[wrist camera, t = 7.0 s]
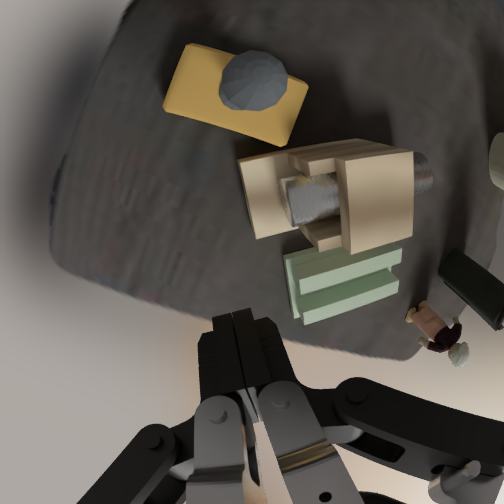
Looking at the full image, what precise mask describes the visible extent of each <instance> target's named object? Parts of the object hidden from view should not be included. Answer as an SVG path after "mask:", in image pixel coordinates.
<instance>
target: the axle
mask: <svg viewBox="0 0 504 504" xmlns="http://www.w3.org/2000/svg"><path fill="white" fill-rule="evenodd" d="M413 165H414V195H415V194H419V193H423V192H426V191H428V190H429V189H430V188H431V186H432V182H433V173H432V168H431V165H430V163H429V161H428V160H427V158H426V157H425V156H424V155H423V154H421V153H419V152H413ZM279 193H280V199H281V203H282V206H283V210H284V213H285V215H286V218H287V220H288V222H289V224H290V225H291V226H292V227H296V226H300V225H304V224H307V223H311V222H315V221H318V220H322V219H325V218H329V217H333V216H336V215H340V202H339V191H338V180H337V171H335V172H330V173H325V174H320V175H315V176H309V175H307V174H305V173H303V174H299V175H295V176H291V177H286V178H282V179H280V180H279Z"/></svg>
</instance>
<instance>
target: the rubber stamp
mask: <svg viewBox="0 0 504 504" xmlns="http://www.w3.org/2000/svg"><path fill="white" fill-rule="evenodd" d="M308 88H309V87H308V85H307V84H306V82H304V81H302V80H300V79H297V78H295V77H293V76H290V75H288V74H287V72H286V70H285V68H284V66H283V64H282V62H281V61H280V60H278V59H277V58H275V57H274V56H272V55H271V54H269V53H268V52H262V51H254V50H250V51H247V52H244V53H242V54H239V55H234V54H231V53H227V52H224V51H221V50H217V49H214V48H210V47H207V46H203V45H199V44H195V43H191V44H188V45H186V46H185V49H184V51H183V53H182V56H181V58H180V61H179V63H178V66H177V68H176V71H175V73H174V76H173V78H172V81H171V84H170V86H169V89H168V92H167V95H166V97H165V100H164V103H163V108H164V110H165V111H166V112H169V113H173V114H177V115H181V116H185V117H189V118H192V119H196V120H200V121H203V122H207V123H210V124H214V125H217V126H220V127H223V128H227V129H230V130H233V131H236V132H239V133H242V134H245V135H248V136H251V137H254V138H257V139H260V140H263V141H265V142H268V143H271V144H274V145H277V146H279V147H281V146H284V145H287V142H288V139H289V137H290V134H291V132H292V129H293V126H294V124H295V121H296V119H297V116H298V113H299V111H300V108H301V106H302V103H303V100H304V98H305V95H306V93H307V90H308Z"/></svg>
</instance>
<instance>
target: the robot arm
mask: <svg viewBox="0 0 504 504" xmlns="http://www.w3.org/2000/svg"><path fill="white" fill-rule="evenodd" d="M232 315H233V317H232ZM212 322H213V331H210V332H207V333H202V335H201V338H200V340H199V342H198V363H199V381H200V394H201V395H200V396H201V402H200V405H199V406H198V408H197V409H196V412H195V414H194V416H192V417H191V418H190V419H189V420H187V421H185V422H183V423H181V424H179V425H177V426H175V427H172V428H168V427H166V426H165V425H162V424H151V425H148V426H146V427H144V428H143V429H141V430H140V431H139V432H138V433H137V435H136V436H135V437H134V438H133V439H132V441H131V442H130V443H129V444H128V445H127V447H126V448H125V449H124V450H123V451H122V452H121V454H120V455H119V456H118V457H117V458H116V460H115V461H114V462H113V463H112V464H111V465H110V466H109V468H108V469H107V470H106V471H105V472H104V473H103V474H102V476H101V477H100V478H99V479H98V480H97V481H96V482H95V484H94V485H93V486H92V487H91V488H90V489H89V490H88V491H87V493H86V494H85V495H84V496H83V497H82V498H81V499H80V500H79V501H78V503H77V504H183V503H184V502H185V501H186V504H268V503H267V498H266V495H265V492H264V489H263V484H262V478H261V470H260V463H259V456H258V449H257V443H256V437H255V432H254V427H253V423H257V422H259V419H258V415H259V418H260V420H261V421H263V422H264V425H265V428H266V430H267V433H268V436H269V439H270V442H271V444H272V447H273V450H274V452H275V455H276V458H277V461H278V465H279V468H280V470H281V473H282V476H283V478H284V481H285V484H286V486H287V489H288V491H289V494H290V497H291V499H292V502H293V504H406V503H403V502H400V501H398V500H395V499H393V498H390V497H388V496H385V495H382V494H378V493H373V492H362V491H358V490H357V488H356V486H355V485H354V483H353V481H352V479H351V477H350V475H349V473H348V471H347V469H346V467H345V465H344V463H343V461H342V459H341V457H340V455H339V454H338V452H337V450H336V449H335V447H334V446H333V445H332V444H336V445H338V446H340V447H342V448H344V449H346V450H349V451H351V452H353V453H355V454H358V455H360V456H362V457H365V458H367V459H369V460H372V461H374V462H376V463H379V464H382V465H384V466H387V467H389V468H392V469H395V470H397V471H400V472H403V473H406V474H408V475H412V476H414V477H418V478H421V479H424V480H427V481H430V483H429V486H428V493H429V496H430V498H431V499H432V500H433V501H434V502H436V503H439V504H494V503H495V500H496V498H497V495H498V493H499V490H500V488H501V485H502V482H503V480H504V422H501V421H497V420H493V419H489V418H485V417H482V416H478V415H474V414H471V413H467V412H463V411H460V410H457V409H453V408H450V407H447V406H443V405H440V404H437V403H434V402H430V401H427V400H424V399H422V398H418V397H416V396H413V395H410V394H407V393H404V392H401V391H399V390H396V389H393V388H390V387H387V386H385V385H382V384H380V383H377V382H374V381H372V380H369V379H366V378H362V377H354V378H349V379H347V380H345V381H343V382H341V383H340V384H339V385H338V386H337V387H336V388H335V389H312V388H309V387H306V386H304V385H302V384H301V383H300V382H299V381H298V380H297V378H296V376H295V374H294V371H293V368H292V366H291V363H290V361H289V358H288V355H287V352H286V350H285V347H284V345H283V341H282V339H281V337H280V333H279V331H278V328H277V325H276V324H275V323H274V322H273V321H272V320H271V319H269V318H268V317H265V318H261V319H258V320H254V318H253V315H252V311H251V308H247V309H243V310H239V311H235V312H232V314H231V313H228V314H224V315H220V316H215V317H212ZM257 413H258V415H257Z"/></svg>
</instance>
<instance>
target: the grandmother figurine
mask: <svg viewBox="0 0 504 504" xmlns="http://www.w3.org/2000/svg"><path fill="white" fill-rule="evenodd" d="M405 321H406V322H414V323H415V324H416V325H417V326H418V327H419V328H420V329H421V330H422V331H423V332H424V333H425V334H426V335H427V336H428V337H429V338H430V339H432V340H433V341H434V342H432V341H429V340H427V339H424V338H423V337H420V338H419V340H418V343H419V344H422V345H423V346H424V347H426V348H427V349H429V350H432V351H435V352H439V353H441V352H444V351H447V350H449V351H448V355H449V358H450V359H451V361H452V362H453V363H452V364H454V366H455V367H462V366H463V365H465V363H466V362H467V360H468V358H469V348H468V346H467V343H466V342H463V343H462V344H460V343H456V342H457V341H458V340H459V338H460V336H461V330H462V325H461V324H460V322H459V321H458V317H454V318H453V320H452V321H453V323H454V326H453V327H452V328H451V329H450V328H449V327H448V326H447V325H446V324H445V322H444V321H443V320H442V319H441V318H440V316H439V315H438V314H437V313H435V312H434V311H433V310H432V309H431V308H430V307H428V306H427V303H426V301H425V300H424V301H422V302H421V303H420V304H419V306H418V312H416V308H415V307H413V308H411V309H410V310H409V311H408V313H407V316H406V318H405Z"/></svg>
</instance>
